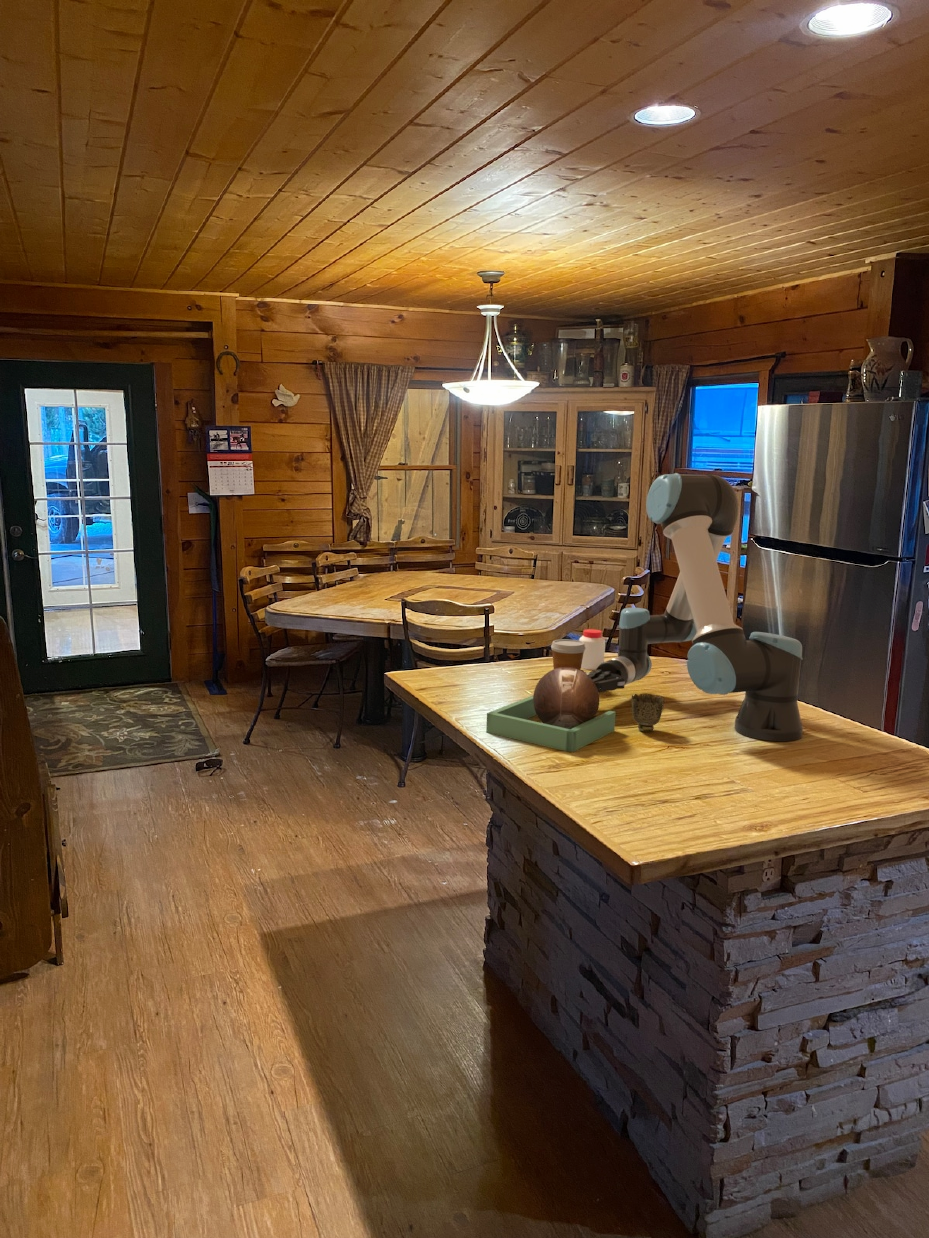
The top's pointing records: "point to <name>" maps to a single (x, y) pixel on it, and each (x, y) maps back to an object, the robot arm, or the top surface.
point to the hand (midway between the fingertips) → (570, 691)
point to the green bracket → (546, 727)
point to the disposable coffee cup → (567, 653)
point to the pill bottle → (592, 649)
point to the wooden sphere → (566, 698)
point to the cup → (647, 711)
